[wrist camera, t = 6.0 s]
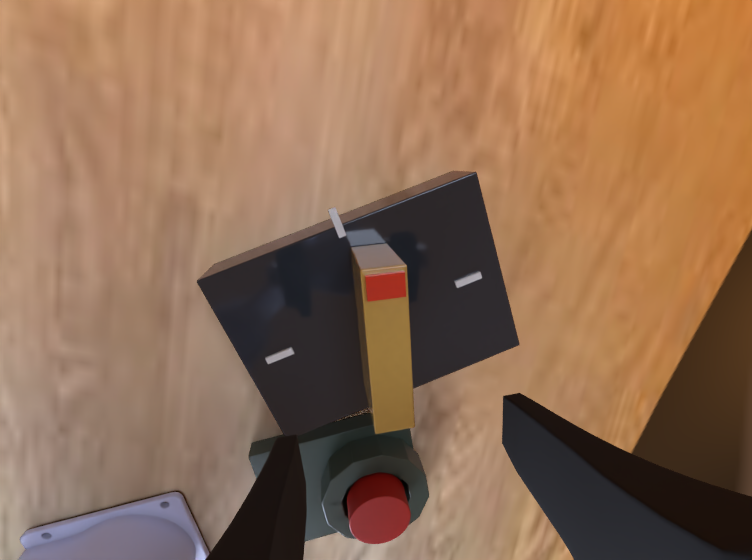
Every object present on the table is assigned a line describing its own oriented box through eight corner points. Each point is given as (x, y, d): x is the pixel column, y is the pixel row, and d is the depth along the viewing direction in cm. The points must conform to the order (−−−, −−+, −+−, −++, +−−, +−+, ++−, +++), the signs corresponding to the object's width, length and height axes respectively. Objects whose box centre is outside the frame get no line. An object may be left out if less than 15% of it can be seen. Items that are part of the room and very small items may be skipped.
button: (352, 523, 23) (355, 551, 21) (341, 480, 22) (343, 506, 20) (407, 508, 23) (414, 534, 22) (399, 465, 22) (406, 489, 21)
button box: (283, 531, 26) (279, 576, 23) (251, 442, 23) (242, 481, 20) (422, 492, 27) (435, 531, 24) (407, 403, 24) (419, 434, 21)
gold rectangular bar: (396, 377, 20) (416, 431, 16) (363, 382, 20) (376, 439, 16) (387, 243, 17) (409, 266, 13) (350, 247, 17) (360, 271, 13)
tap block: (296, 417, 23) (293, 454, 20) (204, 249, 19) (184, 265, 16) (498, 334, 24) (524, 358, 21) (449, 154, 20) (473, 152, 17)
